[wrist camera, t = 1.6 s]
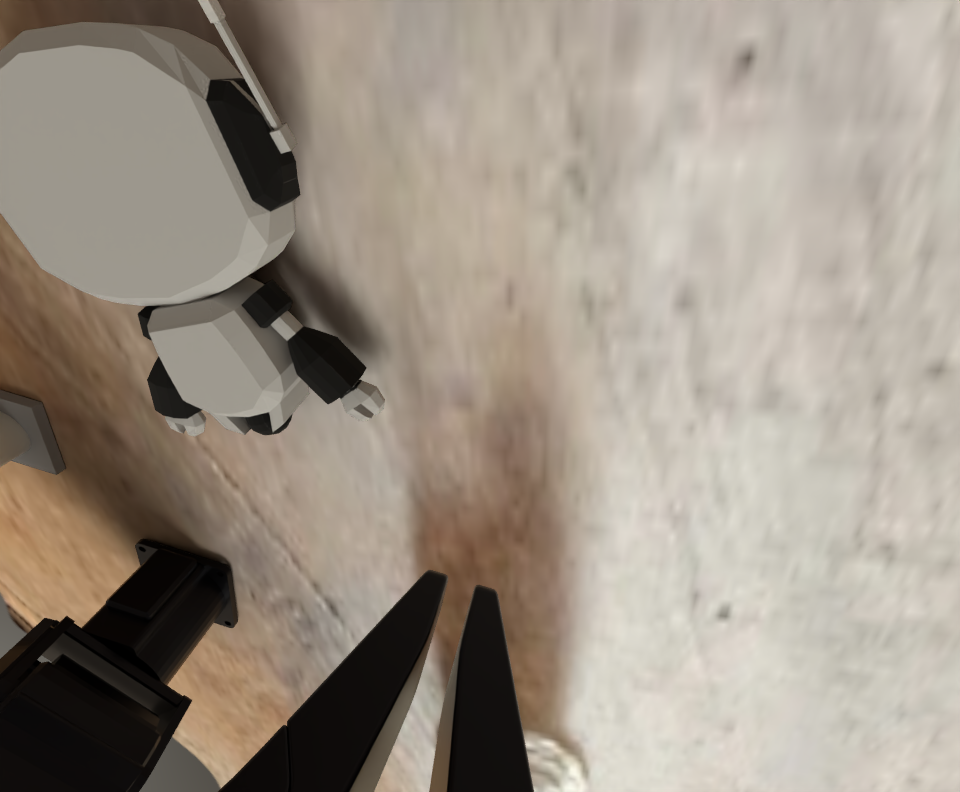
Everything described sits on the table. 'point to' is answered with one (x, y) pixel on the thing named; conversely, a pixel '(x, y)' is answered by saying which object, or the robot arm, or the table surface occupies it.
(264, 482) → the table surface
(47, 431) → the pair of white pegs
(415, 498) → the table surface
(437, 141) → the table surface
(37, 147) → the robot toy
